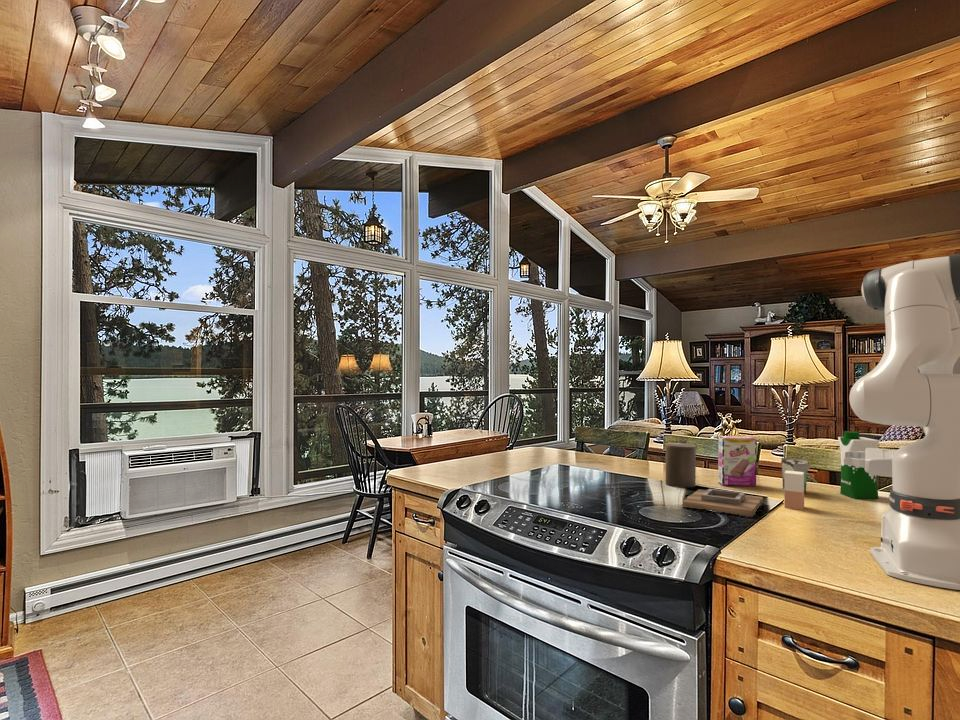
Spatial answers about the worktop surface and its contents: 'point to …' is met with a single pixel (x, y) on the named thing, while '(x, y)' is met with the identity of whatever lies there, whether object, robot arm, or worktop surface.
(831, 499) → the worktop surface
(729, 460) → the candy bar box
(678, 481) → the pillar candle
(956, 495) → the robot arm
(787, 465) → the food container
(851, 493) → the milk carton
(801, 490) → the block stack
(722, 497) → the walnut plate
